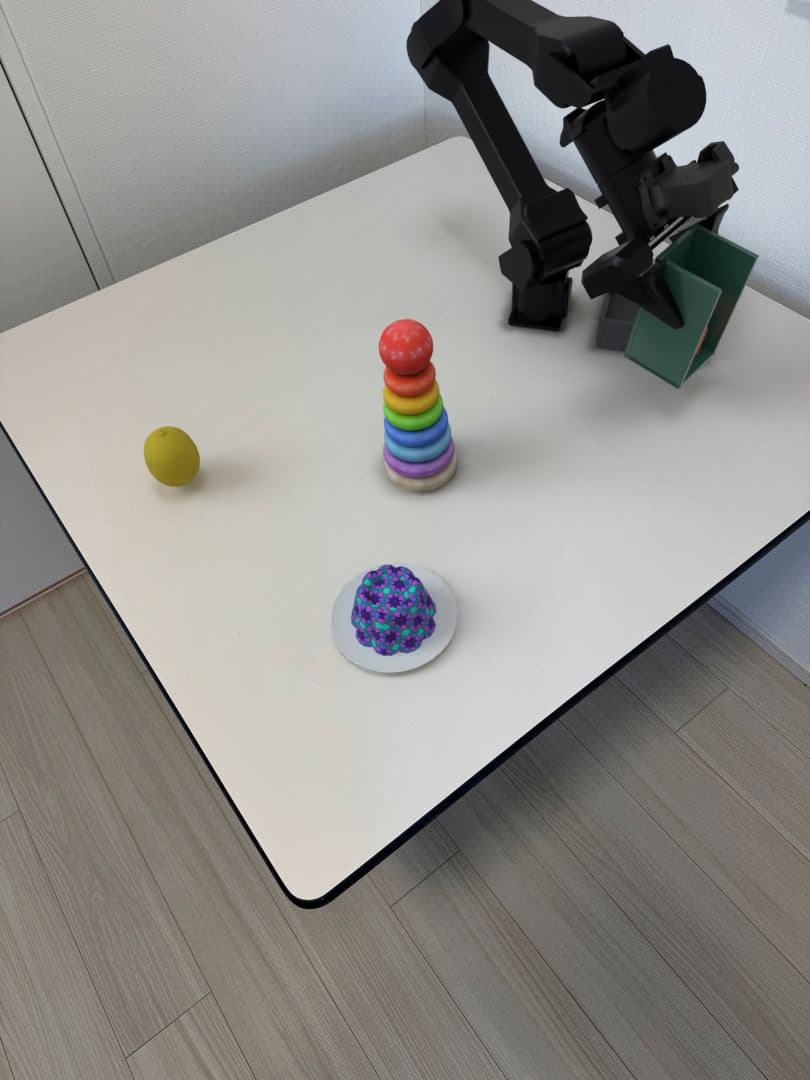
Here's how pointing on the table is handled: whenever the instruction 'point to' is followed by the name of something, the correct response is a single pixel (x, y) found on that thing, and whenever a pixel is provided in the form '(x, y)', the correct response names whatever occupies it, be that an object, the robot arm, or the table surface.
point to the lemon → (171, 456)
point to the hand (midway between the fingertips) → (700, 308)
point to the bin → (616, 322)
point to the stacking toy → (414, 411)
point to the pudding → (393, 617)
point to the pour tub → (692, 304)
